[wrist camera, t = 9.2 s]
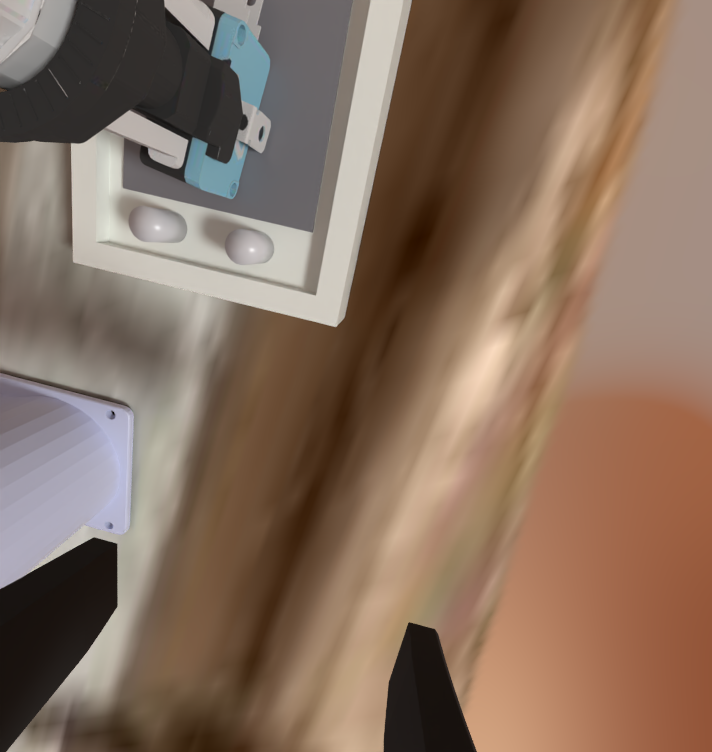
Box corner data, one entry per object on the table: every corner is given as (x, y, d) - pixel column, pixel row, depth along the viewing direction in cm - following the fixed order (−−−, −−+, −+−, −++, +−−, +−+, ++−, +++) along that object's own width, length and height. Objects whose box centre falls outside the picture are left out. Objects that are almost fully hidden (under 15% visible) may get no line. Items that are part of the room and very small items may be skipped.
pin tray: (111, 260, 18) (49, 263, 15) (118, -239, 13) (25, -398, 10) (344, 317, 17) (330, 332, 14) (450, -180, 12) (464, -327, 9)
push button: (189, -40, 13) (-455, -895, 3) (339, 24, 13) (123, -657, 3) (147, 172, 15) (-317, 25, 5) (275, 227, 15) (32, 179, 5)
